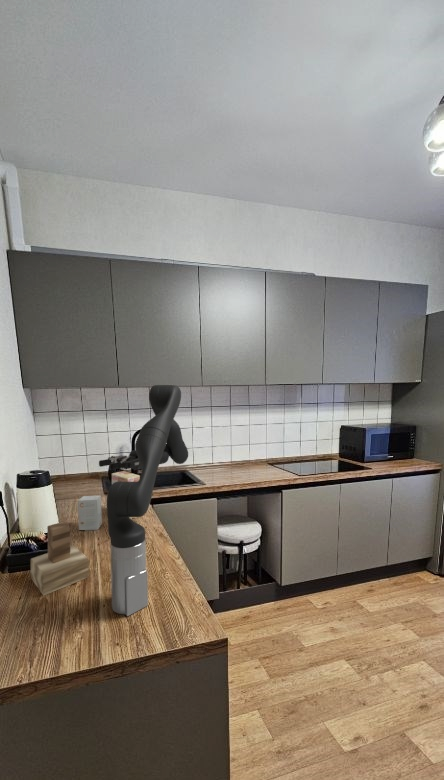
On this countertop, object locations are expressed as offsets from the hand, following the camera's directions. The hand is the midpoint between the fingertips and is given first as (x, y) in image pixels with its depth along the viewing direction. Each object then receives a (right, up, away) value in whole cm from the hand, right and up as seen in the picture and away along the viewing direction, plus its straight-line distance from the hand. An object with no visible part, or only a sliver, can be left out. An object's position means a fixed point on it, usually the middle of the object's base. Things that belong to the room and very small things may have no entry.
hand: (104, 465), depth 118 cm
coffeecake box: (-3, -33, +38) cm, 50 cm away
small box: (-15, -33, +24) cm, 43 cm away
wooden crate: (-9, -32, -15) cm, 37 cm away
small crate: (-9, -26, -15) cm, 31 cm away
